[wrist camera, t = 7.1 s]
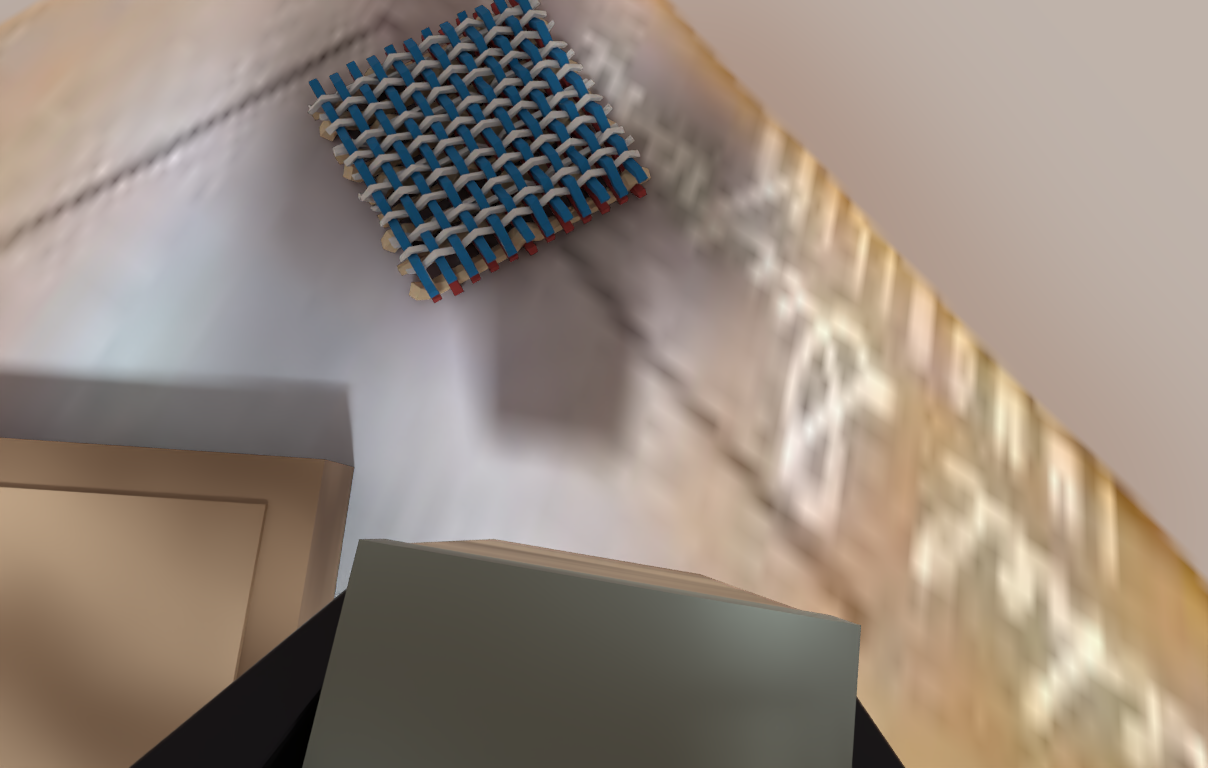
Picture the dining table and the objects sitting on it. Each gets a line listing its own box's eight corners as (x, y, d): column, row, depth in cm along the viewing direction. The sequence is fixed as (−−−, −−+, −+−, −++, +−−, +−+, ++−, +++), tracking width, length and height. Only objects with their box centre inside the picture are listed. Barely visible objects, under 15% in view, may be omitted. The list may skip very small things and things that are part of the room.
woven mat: (529, 6, 27) (524, -35, 25) (658, 197, 25) (664, 169, 23) (307, 110, 26) (283, 75, 24) (425, 322, 24) (410, 303, 22)
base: (281, 933, 19) (233, 997, 16) (-186, 904, 19) (-309, 963, 16) (354, 467, 22) (323, 458, 20) (-47, 440, 22) (-131, 428, 19)
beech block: (679, 761, 14) (827, 1133, 5) (455, 722, 14) (238, 1024, 5) (702, 572, 15) (859, 624, 6) (492, 536, 15) (359, 539, 6)
